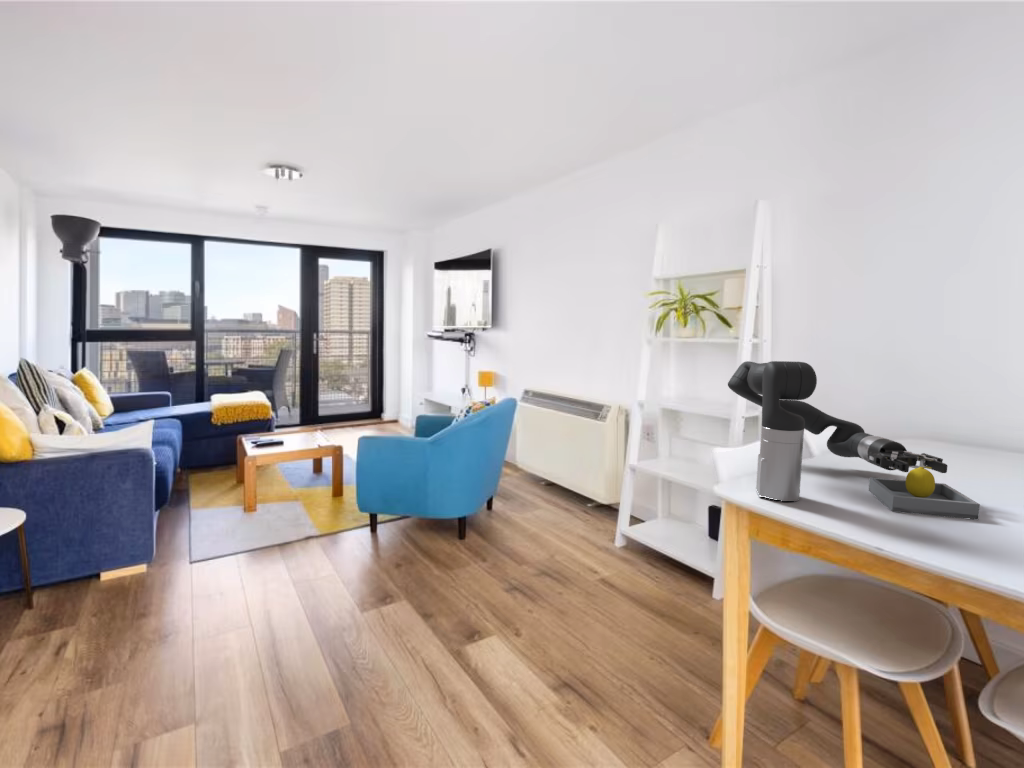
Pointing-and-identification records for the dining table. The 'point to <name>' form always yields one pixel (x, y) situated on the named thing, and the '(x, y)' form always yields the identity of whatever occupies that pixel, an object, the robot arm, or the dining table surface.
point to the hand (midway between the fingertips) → (926, 468)
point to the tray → (924, 499)
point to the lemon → (920, 482)
